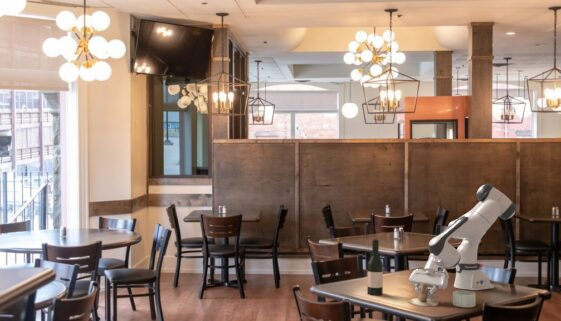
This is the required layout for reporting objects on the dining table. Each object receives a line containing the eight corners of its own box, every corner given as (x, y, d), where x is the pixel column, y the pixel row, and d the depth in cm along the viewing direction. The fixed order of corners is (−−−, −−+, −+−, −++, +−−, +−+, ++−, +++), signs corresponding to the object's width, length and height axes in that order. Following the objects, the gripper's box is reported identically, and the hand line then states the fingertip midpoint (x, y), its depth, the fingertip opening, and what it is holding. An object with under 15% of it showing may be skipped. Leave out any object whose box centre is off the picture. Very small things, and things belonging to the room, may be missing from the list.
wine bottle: (365, 292, 372) (366, 237, 371) (380, 292, 373) (381, 237, 372) (369, 295, 364) (369, 239, 363) (384, 295, 364) (384, 239, 364)
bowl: (467, 301, 351) (467, 290, 351) (479, 306, 341) (479, 294, 341) (448, 302, 348) (448, 291, 348) (460, 307, 338) (460, 295, 338)
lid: (429, 299, 357) (429, 280, 357) (444, 305, 343) (444, 286, 343) (403, 301, 353) (403, 282, 353) (417, 307, 338) (417, 287, 338)
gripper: (412, 264, 359) (403, 286, 352) (448, 269, 346) (439, 291, 339) (416, 272, 363) (407, 293, 356) (452, 277, 350) (443, 299, 343)
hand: (423, 292), depth 347 cm, fingers open, 6 cm apart
